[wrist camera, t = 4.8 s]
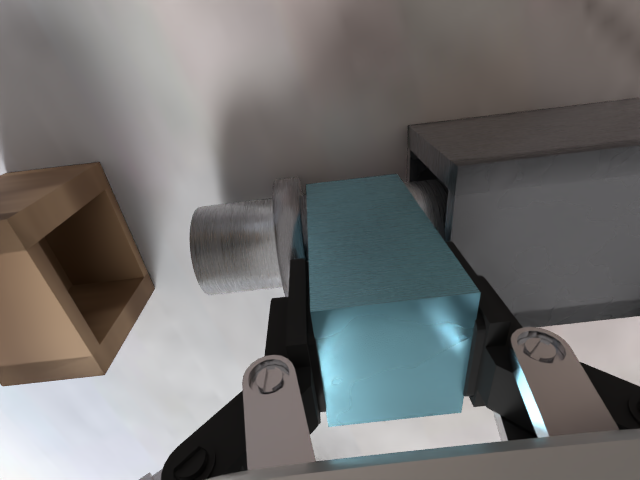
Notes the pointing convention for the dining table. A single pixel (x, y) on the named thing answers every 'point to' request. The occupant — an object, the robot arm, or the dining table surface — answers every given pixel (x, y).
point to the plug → (356, 287)
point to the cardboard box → (65, 275)
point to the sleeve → (543, 205)
